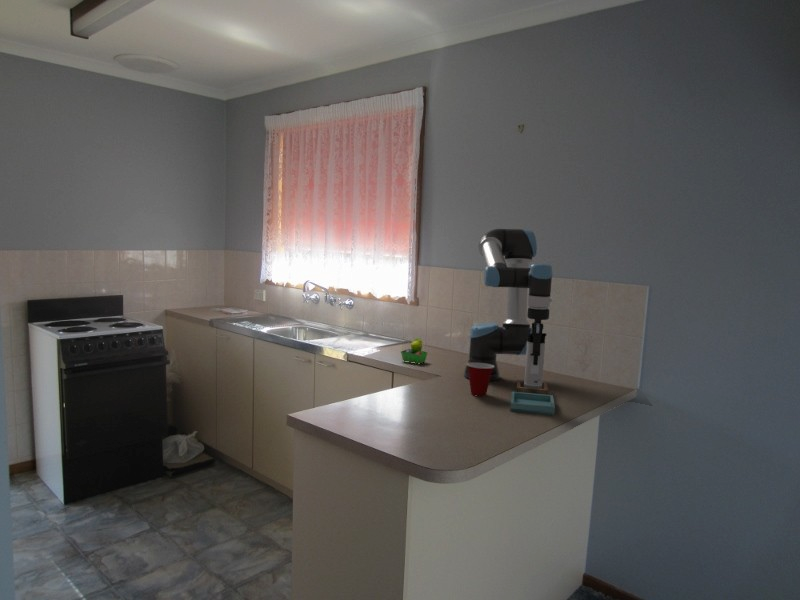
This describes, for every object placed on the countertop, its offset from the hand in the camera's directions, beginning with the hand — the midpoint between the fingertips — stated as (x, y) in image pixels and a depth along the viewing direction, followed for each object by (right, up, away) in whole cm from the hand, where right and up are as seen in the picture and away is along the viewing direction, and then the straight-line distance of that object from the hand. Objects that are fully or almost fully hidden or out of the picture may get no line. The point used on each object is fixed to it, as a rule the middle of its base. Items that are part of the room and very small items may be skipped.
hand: (534, 371), depth 203 cm
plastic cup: (-18, -11, +16) cm, 26 cm away
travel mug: (0, -6, +1) cm, 6 cm away
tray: (-1, -13, +2) cm, 13 cm away
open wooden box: (+3, -11, +17) cm, 21 cm away
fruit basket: (-42, -4, +66) cm, 78 cm away
